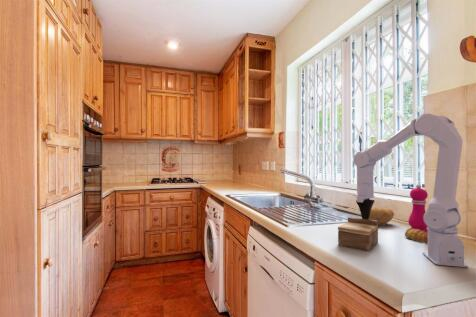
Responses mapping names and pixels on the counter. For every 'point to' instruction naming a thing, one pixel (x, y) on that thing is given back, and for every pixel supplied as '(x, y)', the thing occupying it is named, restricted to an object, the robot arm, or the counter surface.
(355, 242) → the keepsake box
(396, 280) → the counter surface
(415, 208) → the pepper mill
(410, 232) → the pastry
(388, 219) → the potato
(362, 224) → the lid
